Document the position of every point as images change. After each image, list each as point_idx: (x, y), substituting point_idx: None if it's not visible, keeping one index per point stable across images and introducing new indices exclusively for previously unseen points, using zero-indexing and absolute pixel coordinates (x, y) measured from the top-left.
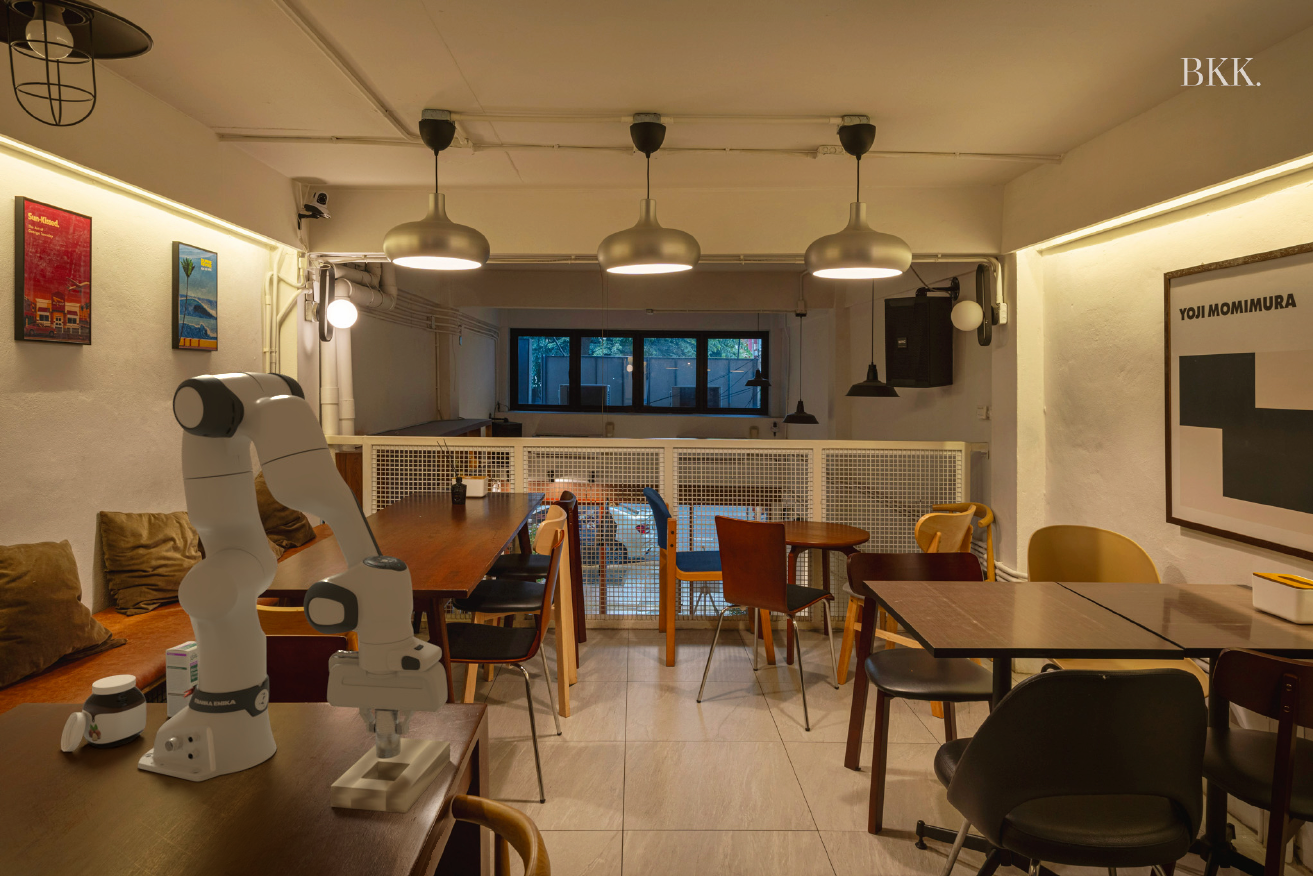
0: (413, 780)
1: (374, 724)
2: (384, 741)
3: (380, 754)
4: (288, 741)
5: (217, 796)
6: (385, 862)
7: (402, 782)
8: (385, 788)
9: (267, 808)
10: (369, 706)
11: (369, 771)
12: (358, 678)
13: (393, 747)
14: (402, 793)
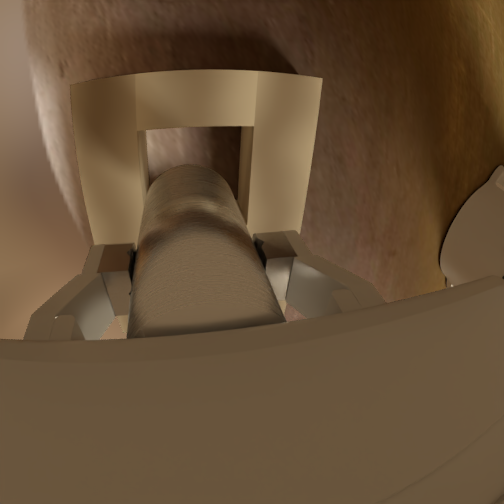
0: (84, 150)
1: (265, 258)
2: (179, 194)
3: (198, 169)
4: (427, 282)
5: (480, 125)
6: None
7: (108, 130)
8: (142, 84)
9: (416, 76)
10: (332, 325)
11: (249, 176)
12: (502, 478)
13: (149, 201)
14: (83, 82)
